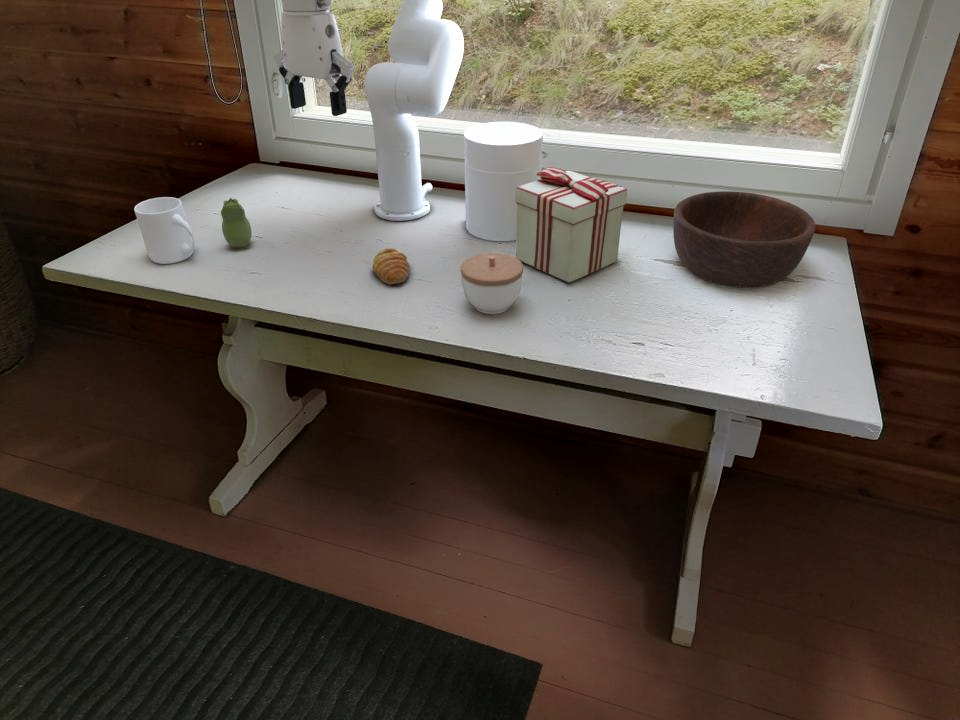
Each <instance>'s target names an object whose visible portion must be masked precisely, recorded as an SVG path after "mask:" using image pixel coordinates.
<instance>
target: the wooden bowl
mask: <svg viewBox="0 0 960 720" xmlns="http://www.w3.org/2000/svg"><path fill="white" fill-rule="evenodd" d="M672 219H673V220H672V221H673V225H672V226H673V230H672V231H673V243H674V248H675V252H676V254H677V255H676V256H677V257H678V259H679V261H680V263H681V264H682V266H684V268H685V269H686V270H687V271H688V272H690V273H691V274H692V275H694V276H696V277H698V278H700V279H702V280H704V281H708V282H711V283H714V284H718V285H721V286H727V287H733V288H744V289H745V288H746V289H747V288H750V289H751V288H761V287H767V286H771V285H774V284H777V283H779V282H781V281H783V280H784V279H785V278H787V277H788V276H789V275H790V274H792V273H793V271H794V270H795V269H796V268H797V267H798V265H799V264H800V262H801V261H802V260H803V258H804V256H805V255H806V252H807V251H808V248H809V246H810V244H811V242H812V239H813V238H814V234H815V231H816V222H815V220H814V218H813V217H812V216H811V215H810V214H809V213H808V212H807V211H806V210H804V209H802V208H801V207H799V206H797V205H795V204H794V203H791V202H789V201H786V200H784V199H780V198H777V197H773V196H769V195H765V194H759V193H753V192H745V191H729V190H727V191H724V190H723V191H722V190H721V191H709V192H702V193H698V194H694V195H691V196H688V197H686V198H684V199H683V200H681V201H679V202H678V204H676V206H675V208H674V209H673V218H672Z"/></svg>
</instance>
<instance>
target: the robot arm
mask: <svg viewBox="0 0 960 720" xmlns="http://www.w3.org/2000/svg"><path fill="white" fill-rule="evenodd" d="M280 2H281V6H282V11H281V19H280V20H281V21H280V22H281V23H280V25H281V43H282V44H281V45H282V50H280V51H279V52H277V53H276V54H275V55H274V56H273V59H274V61H275V64H276V66H277V68H278V72H279V73H280V75H281V76H282V78H283V79H284V81H283V82H284V84H285V85H287V88H288V96H289V103H290V108H291V109H292V110H296V109H299V108H302V107H305V106H306V105H307V100H306V93H305V86H304V82H303V81H301V80H302V78H304V77H305V78H311V79H319V80H325V82H326V84H327V85H328V86H329V88H330V90H331V91H329V100H330V101H329V102H330V110H331V115H332V116H333V117H338V116H342V115H344V114H346V113H347V111H348V108H347V100H346V90H347V89H348V86H349V84H350V83H351V81H352V76H353V72H354V69H355V66H354V64H353V63H352V62H351V61H349V60H347V59H346V58H345V57H344V54H343V47H342V41H341V36H340V31H339V28H338V23H337V20H336V17H335V14H334V12H331V11H330V6H331V5H332V0H281V1H280ZM442 13H443V1H442V0H402V1H401V4H400V6H399V10H398V12H397V14H396V18H395V20H394V22H393V25H392V28H391V30H390V33H389V37H388V41H387V54H388V56H389V57H390V59H391V61H388V62H387V61H384V62H379V63H375V64H374V65H372V66H371V67H369V69H368V70H367V72H366V74H365V76H364V77H365V78H364V83H363V84H364V94H365V97H366V102H367V104H368V109H369V112H370V115H371V116H370V117H371V122H372V129H373V137H374V138H373V139H374V147H375V148H374V149H375V157H376V169H377V179H378V189H379V199H380V200H379V201H378V202H377V203H375V205H374V214H375V215H376V216H377V217H379V218H381V219H383V220H387V221H394V222H395V221H396V222H397V221H398V222H404V221H412V220H416V219H419V218H422V217H424V216H426V215H427V214H428V213H429V212H430V210H431V205H430V202H429V201H428V200H426V199H425V196H426V195H427V193H430V192H431V191H433V185H432V183H431V182H426V183H424V184H423V183H422V181H423V180H422V166H421V152H420V151H421V148H420V135H419V129H418V125H417V123H416V121H415V119H414V118H413V116H412V115H414V116H421V117H422V116H424V117H434V116H438V115H440V114H441V113H442V112H443V110H444V109H445V107H446V105H447V103H448V101H449V97H450V95H451V92H452V90H453V87H454V84H455V81H456V78H457V75H458V72H459V69H460V67H461V64H462V61H463V56H464V51H465V50H464V48H465V43H464V42H465V41H464V35H463V31H462V29H461V28H460V25H458V24H457V23H456V22H454V21H453V20H450V19H444V18H441V16H442ZM422 184H423V185H422Z"/></svg>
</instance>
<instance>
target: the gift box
mask: <svg viewBox="0 0 960 720" xmlns="http://www.w3.org/2000/svg"><path fill="white" fill-rule="evenodd" d="M536 175H537V176H539V178H540V180H537V181H534V182H531V183H528V184H525V185H522V186H518V187H516V198H515V202H516V203H517V233H516V240H515V258H517V259H518V260H520V261H521V263H524V264H526V265H529V266H530V267H532V268H534V269H535V270H538V271H541V272H544V273H546V274H548V275H550V276H552V277H555V278H556V279H559V280H561V281H563V282H565V283H568V284H569V283H572V282H574V281H577V280H579V279H581V278H583V277H585V276H587V275H590V274H592V273H594V272H597V271H599V270H601V269H604V268H605V267H608V266H609V265H612V264H614V263H616V262H617V261H618V255H619V247H620V238H621V230H622V229H621V228H622V223H623V213H624V206H626V205H627V198H628V188H625V187H623V186H622V185H620V184H618V183H617V184H615V183H612V182H610V181H607V180H601V179H599V178H595V177H591V176H589V175H588V176H587V175H584V174H582V173H579V172H575V171H572V170H566V171H565V170H563V169H562V168H561V167H560V168H559V167H553V166H550V167H546V168H544V169H542V170H541V172H539V173H537V174H536Z"/></svg>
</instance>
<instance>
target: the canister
mask: <svg viewBox="0 0 960 720" xmlns="http://www.w3.org/2000/svg"><path fill="white" fill-rule="evenodd" d="M543 141H544V133H543V130H542V129H540V128H539V127H537V126H536V125H535V126H534V125H532V124H528V123H524V122H514V121H491V122H484V123H478V124H475V125H472V126H470V127H468V128H467V129H465V130H464V131H463V153H464V154H463V155H464V199H465V201H464V204H465V206H464V207H465V229H466V230H467V231H468V233H469V234H470V235H472V236H474V237H475V238H479V239H482V240H486V241H492V242H493V241H494V242H513V241H516V233H517V203H516V202H515V198H516V187H518V186H522V185H525V184H528V183H531V182H534V181H537V180H540V178H539V176H537V175H536V174H537V173H539V172H541V171H543V169H542V167H543V161H542V160H543V159H542V158H543V157H542V156H543V147H544V146H543V145H544V143H543Z"/></svg>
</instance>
